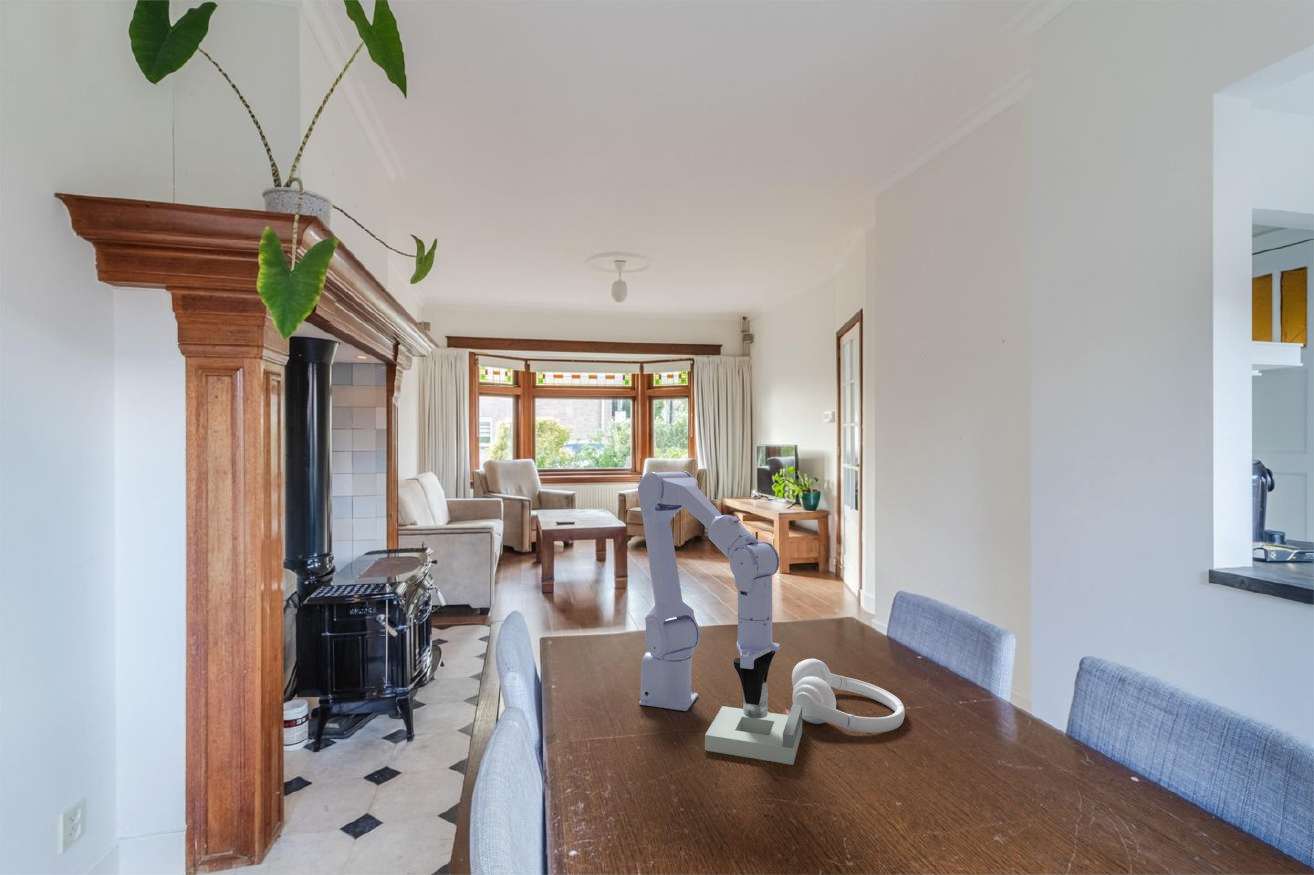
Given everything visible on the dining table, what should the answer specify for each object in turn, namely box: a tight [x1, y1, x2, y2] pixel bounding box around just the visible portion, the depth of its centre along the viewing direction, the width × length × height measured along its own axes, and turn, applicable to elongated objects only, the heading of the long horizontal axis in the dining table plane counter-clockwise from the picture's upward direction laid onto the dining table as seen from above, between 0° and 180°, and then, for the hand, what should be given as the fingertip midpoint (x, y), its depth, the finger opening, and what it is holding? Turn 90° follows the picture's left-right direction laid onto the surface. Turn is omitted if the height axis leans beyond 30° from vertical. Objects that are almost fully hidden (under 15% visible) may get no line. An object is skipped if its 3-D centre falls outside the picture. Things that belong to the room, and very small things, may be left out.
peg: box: [742, 680, 769, 719], centre depth 105 cm, size 4×4×5 cm
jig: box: [704, 703, 803, 766], centre depth 105 cm, size 14×12×4 cm
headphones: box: [791, 658, 906, 734], centre depth 117 cm, size 20×8×20 cm
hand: (755, 698), depth 105 cm, fingers closed on peg, 4 cm apart
